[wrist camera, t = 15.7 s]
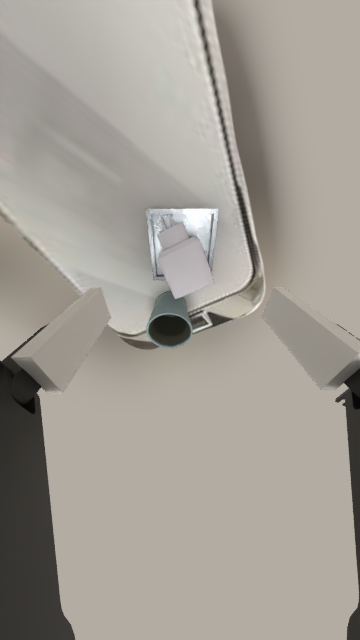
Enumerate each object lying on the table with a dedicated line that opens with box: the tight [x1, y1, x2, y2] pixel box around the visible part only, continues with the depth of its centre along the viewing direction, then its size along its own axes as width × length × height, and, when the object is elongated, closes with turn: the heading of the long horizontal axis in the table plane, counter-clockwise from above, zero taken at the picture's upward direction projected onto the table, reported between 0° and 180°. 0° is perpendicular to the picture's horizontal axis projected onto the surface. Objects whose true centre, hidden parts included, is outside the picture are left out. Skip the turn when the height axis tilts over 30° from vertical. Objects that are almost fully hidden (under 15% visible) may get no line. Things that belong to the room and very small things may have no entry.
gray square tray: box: [146, 209, 219, 280], centre depth 32 cm, size 14×14×2 cm
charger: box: [157, 215, 214, 299], centre depth 31 cm, size 5×9×15 cm
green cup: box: [146, 292, 192, 348], centre depth 37 cm, size 10×10×12 cm
